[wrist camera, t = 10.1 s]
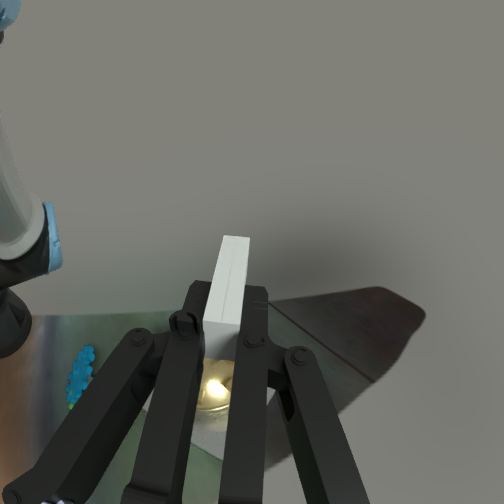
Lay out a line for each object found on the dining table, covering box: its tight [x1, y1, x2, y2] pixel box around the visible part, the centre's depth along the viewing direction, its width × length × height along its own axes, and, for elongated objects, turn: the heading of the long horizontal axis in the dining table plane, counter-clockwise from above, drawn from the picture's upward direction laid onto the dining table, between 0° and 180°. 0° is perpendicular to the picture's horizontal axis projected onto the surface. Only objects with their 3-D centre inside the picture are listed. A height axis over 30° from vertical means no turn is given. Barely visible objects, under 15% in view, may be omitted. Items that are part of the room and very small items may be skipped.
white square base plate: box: [142, 387, 276, 462], centre depth 39 cm, size 20×20×3 cm
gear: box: [66, 345, 95, 409], centre depth 34 cm, size 11×6×10 cm
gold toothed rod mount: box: [170, 330, 235, 414], centre depth 33 cm, size 14×14×18 cm
